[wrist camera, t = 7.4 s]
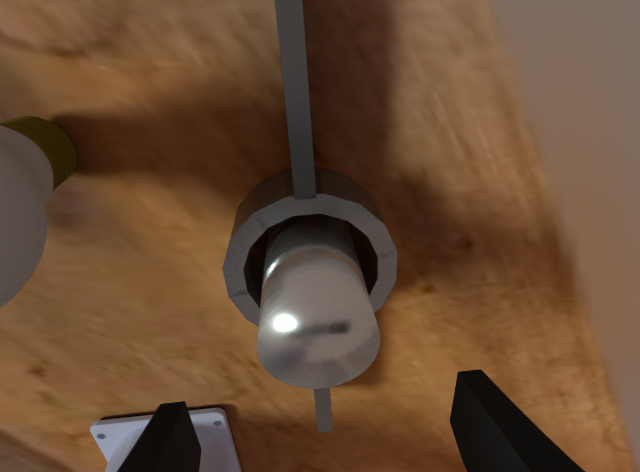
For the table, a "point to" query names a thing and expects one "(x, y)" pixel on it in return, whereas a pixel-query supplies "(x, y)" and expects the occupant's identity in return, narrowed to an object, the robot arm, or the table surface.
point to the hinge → (304, 199)
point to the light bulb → (28, 194)
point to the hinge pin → (314, 305)
